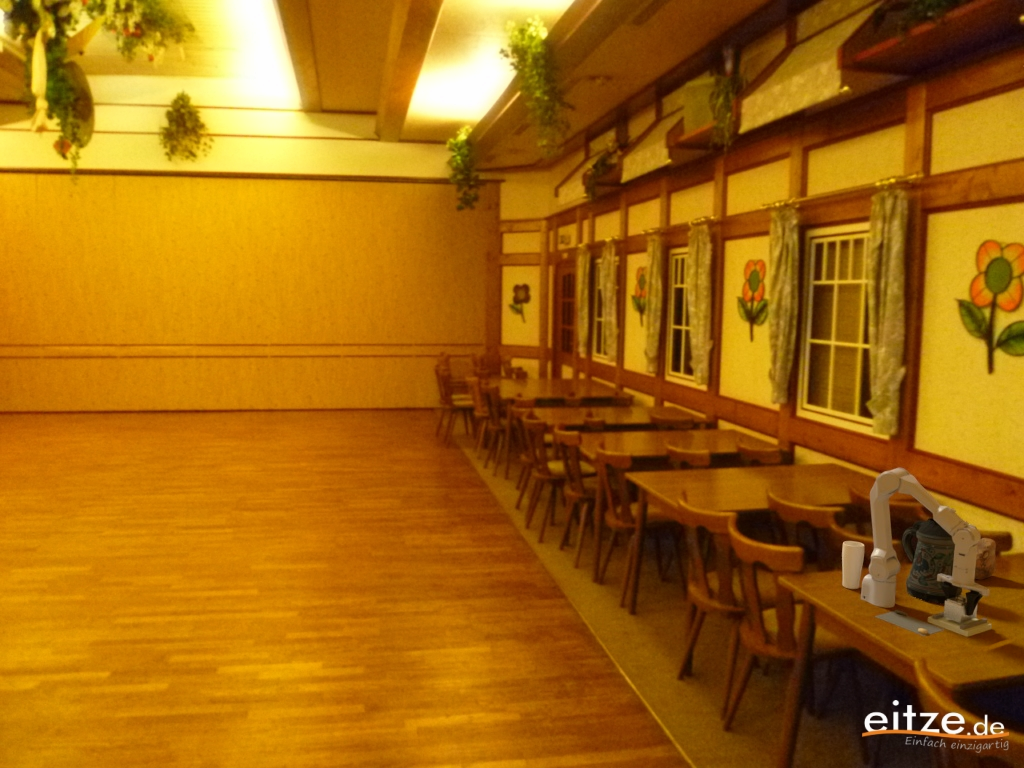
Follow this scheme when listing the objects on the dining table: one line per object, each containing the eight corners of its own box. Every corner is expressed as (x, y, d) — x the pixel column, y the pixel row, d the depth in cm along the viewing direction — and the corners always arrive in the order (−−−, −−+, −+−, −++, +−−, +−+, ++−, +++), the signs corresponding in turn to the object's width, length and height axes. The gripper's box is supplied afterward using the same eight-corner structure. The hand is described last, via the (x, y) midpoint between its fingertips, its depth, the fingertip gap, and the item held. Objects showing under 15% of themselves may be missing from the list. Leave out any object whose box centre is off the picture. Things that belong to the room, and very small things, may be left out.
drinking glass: (855, 583, 275) (858, 540, 273) (865, 590, 268) (868, 546, 267) (836, 583, 275) (839, 540, 273) (845, 590, 268) (848, 546, 266)
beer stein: (956, 608, 254) (963, 531, 252) (890, 593, 266) (896, 520, 263) (965, 594, 267) (971, 520, 265) (901, 580, 279) (907, 510, 276)
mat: (874, 619, 244) (874, 613, 243) (894, 613, 249) (895, 607, 248) (923, 639, 230) (924, 632, 230) (944, 633, 235) (945, 626, 235)
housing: (959, 611, 242) (961, 591, 241) (976, 617, 238) (978, 597, 237) (943, 616, 238) (945, 596, 237) (960, 622, 234) (961, 601, 233)
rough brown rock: (912, 574, 289) (916, 534, 286) (924, 559, 302) (928, 521, 299) (986, 592, 274) (991, 550, 271) (995, 576, 287) (1000, 536, 284)
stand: (927, 624, 240) (928, 613, 240) (951, 617, 246) (952, 606, 246) (966, 640, 230) (968, 628, 230) (990, 632, 236) (991, 620, 236)
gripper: (932, 561, 241) (928, 605, 242) (980, 576, 228) (976, 622, 229) (946, 558, 244) (942, 601, 245) (995, 572, 232) (991, 618, 233)
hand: (960, 611), depth 238 cm, fingers closed on housing, 5 cm apart
